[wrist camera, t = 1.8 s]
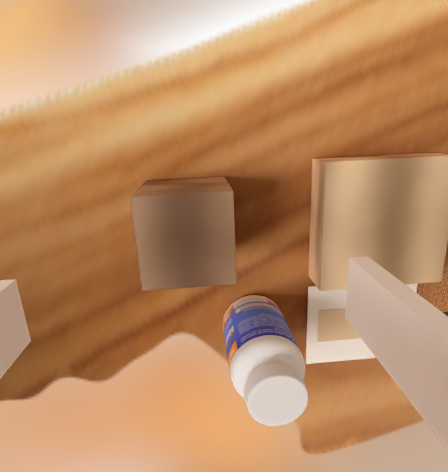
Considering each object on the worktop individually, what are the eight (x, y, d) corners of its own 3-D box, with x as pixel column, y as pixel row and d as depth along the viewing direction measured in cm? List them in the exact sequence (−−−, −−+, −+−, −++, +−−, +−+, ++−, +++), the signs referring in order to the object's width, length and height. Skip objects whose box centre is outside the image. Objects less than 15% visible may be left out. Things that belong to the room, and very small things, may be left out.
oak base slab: (308, 275, 30) (320, 290, 27) (312, 158, 27) (326, 162, 24) (418, 267, 30) (441, 281, 28) (433, 152, 27) (461, 155, 25)
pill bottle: (215, 302, 30) (224, 380, 21) (274, 285, 30) (310, 355, 21) (231, 353, 32) (246, 445, 22) (287, 337, 32) (326, 422, 22)
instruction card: (305, 362, 32) (306, 364, 32) (307, 286, 30) (309, 287, 30) (406, 353, 33) (408, 355, 33) (416, 277, 31) (418, 279, 30)
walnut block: (154, 253, 28) (142, 290, 22) (146, 180, 26) (130, 197, 20) (227, 248, 29) (236, 283, 22) (224, 176, 27) (233, 191, 20)
